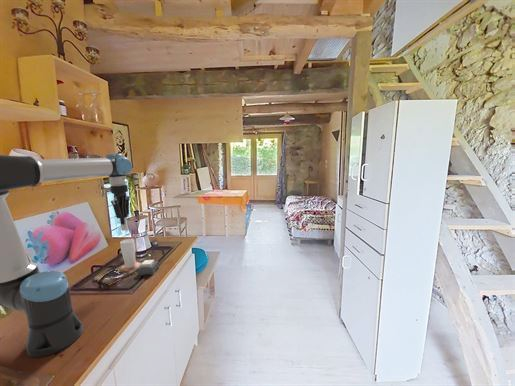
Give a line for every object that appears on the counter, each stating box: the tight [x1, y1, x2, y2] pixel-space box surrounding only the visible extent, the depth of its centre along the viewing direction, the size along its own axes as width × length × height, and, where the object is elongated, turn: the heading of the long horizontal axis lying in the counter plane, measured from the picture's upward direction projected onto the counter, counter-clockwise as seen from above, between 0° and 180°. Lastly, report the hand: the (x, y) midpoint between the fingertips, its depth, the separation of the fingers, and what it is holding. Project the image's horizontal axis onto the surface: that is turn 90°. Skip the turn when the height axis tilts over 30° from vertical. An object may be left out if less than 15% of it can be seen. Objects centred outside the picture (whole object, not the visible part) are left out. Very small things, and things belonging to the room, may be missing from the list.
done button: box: [141, 259, 155, 267], centre depth 130 cm, size 5×5×4 cm
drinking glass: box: [119, 238, 137, 268], centre depth 134 cm, size 7×7×15 cm
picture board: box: [93, 260, 143, 285], centre depth 131 cm, size 22×13×1 cm, turn 151°
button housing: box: [136, 260, 160, 277], centre depth 131 cm, size 8×8×4 cm
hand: (125, 229), depth 125 cm, fingers closed
